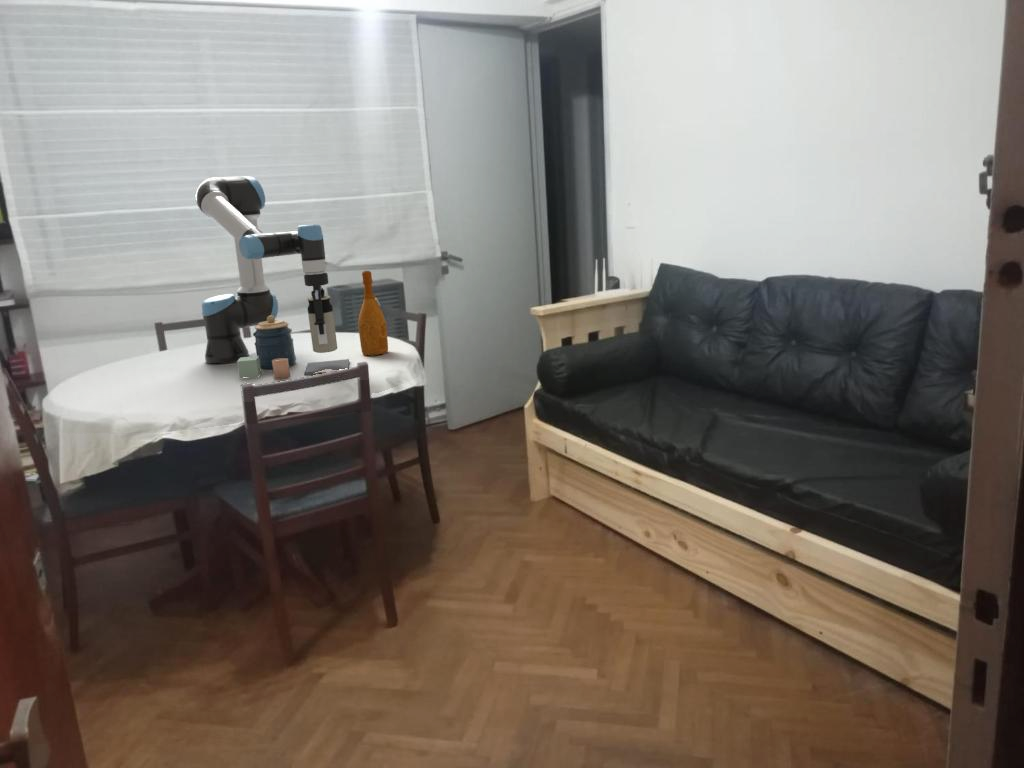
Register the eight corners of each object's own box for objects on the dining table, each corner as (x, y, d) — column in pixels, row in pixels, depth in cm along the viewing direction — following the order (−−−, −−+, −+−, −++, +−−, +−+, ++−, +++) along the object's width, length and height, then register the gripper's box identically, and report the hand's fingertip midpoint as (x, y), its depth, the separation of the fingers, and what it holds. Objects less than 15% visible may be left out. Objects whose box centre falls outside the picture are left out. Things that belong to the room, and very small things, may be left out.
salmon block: (275, 376, 238) (272, 358, 236) (291, 375, 238) (288, 357, 237) (273, 380, 233) (270, 362, 231) (289, 378, 234) (286, 360, 232)
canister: (304, 362, 256) (297, 313, 251) (275, 371, 245) (267, 319, 241) (279, 359, 263) (272, 311, 258) (250, 367, 252) (242, 317, 248)
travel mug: (342, 348, 245) (335, 295, 240) (328, 353, 238) (321, 299, 233) (322, 347, 248) (316, 295, 243) (308, 352, 241) (301, 299, 236)
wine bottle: (382, 356, 257) (373, 272, 250) (356, 356, 260) (347, 272, 252) (393, 350, 267) (384, 268, 259) (369, 350, 269) (360, 269, 261)
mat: (308, 365, 250) (307, 362, 250) (349, 361, 252) (349, 359, 252) (304, 375, 237) (304, 372, 236) (348, 371, 239) (347, 368, 239)
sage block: (243, 374, 243) (240, 357, 241) (261, 373, 244) (258, 355, 242) (239, 379, 237) (236, 361, 236) (258, 377, 238) (256, 359, 237)
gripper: (325, 275, 227) (334, 346, 233) (329, 269, 246) (337, 334, 252) (300, 277, 226) (310, 348, 232) (306, 270, 245) (315, 336, 251)
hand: (324, 341), depth 242 cm, fingers closed on travel mug, 8 cm apart
